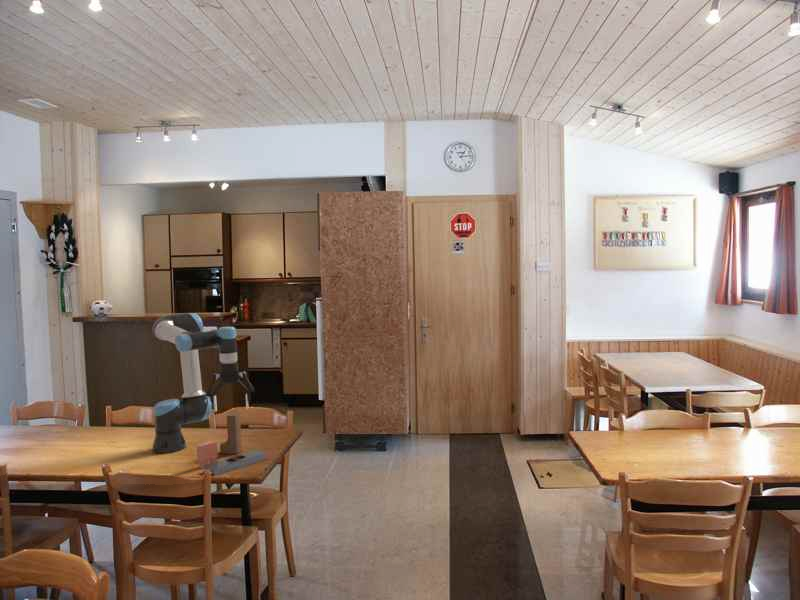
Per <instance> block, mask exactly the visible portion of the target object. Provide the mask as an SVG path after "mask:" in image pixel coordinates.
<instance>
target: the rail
mask: <svg viewBox="0 0 800 600" xmlns="http://www.w3.org/2000/svg"><path fill="white" fill-rule="evenodd" d="M267 457H268V456H267V452H266V451H262V450H259V449H254V450H251V451H247V452H244V453H239V454H238V455H237V454H235V455H233V456H230V457H227V458H223V459H219V460H216V462H212V463H210V462H209V463H206V465H204V468H203V469H204V471H205V470H210V471H211V472H212V476H214V475H215V476H217V474H218V475H221V474H224V473H223V472H225V473H227V472H226V471H228V472H230V470H231V471H234V470H237V469H236V468H238V469H240V467H241V468H243V466H244V467H247V466H250V465H252V464H253V465H254V464H256V463H259V462H263V461H266V460H268V458H267ZM233 469H234V470H233Z"/></svg>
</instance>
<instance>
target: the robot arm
mask: <svg viewBox="0 0 800 600" xmlns="http://www.w3.org/2000/svg"><path fill="white" fill-rule="evenodd" d="M202 320H203V319H202V318H201V317H200V315H199V314H197V313H195V312H193V313H191V312H189V313H188V312H187V313H179V314H178V313H177V314H168V315H166V314H165V315H163V316H160V317H159V318H158V319H156V320H155V322H154V323H153V325H152V333H153V335H154V336H155V338H157V339H159V340H161V341H167V342H170V343H173V344H174V345H175V348H176V350H177V351H178V352H179V356H180V366H181V372H182V373H181V375H182V376H181V377H182V385H183V394H182V395H181V396H180V398H181V400H180V399H179V398H169V399H165V400H162V401H159V402H157V403H156V404H155V405H154V407H153V418H154V430H155V436H154V438H153V439H154V440H153V442H152V443H153V444H152V452H153V453H156V454H169V453H175V452H178V451H181V450H184V449H185V448H186V447H187V444H186V439H185V437H184V435H183V432H182V426H183V425H188V424H193V423H196V422H197V423H198V422H202V421H205V420H208V419H209V417H210V416H211V415H212V414H211V413H212V405H213V410H214V412H217V411H218V407H217V395H215V394H217V392H218V391H219V390H220V388H221V387H222V386H223V385H224V384H234V383H235V384H237V385H238V386H239V387H240V388H241V389H242V390H243V391H244V392H245V409H246V410H249V402H250V401H251V394H252V393H254V392H255V389H254V387H253V385H252V383H251V381H250V380H249V378H248V377H247V372H246V371H243V372H239V363H238V346H237V344H238V343H237V330H236V327H234V326H222V327H219V328H218V329H212V330H209V331H204V329H205V328H204V324H203V323H204V322H203V321H202ZM211 348H218V352H219V362H220V364H219V368H220V372H219V373H220V374H219V373H215V372H214V373H213V375H212V380H211V383H210V385H209V387H208V390H207V392H205V391H203V386H202V384H203V383H202V374H201V367H200V358H199V350H203V349H211ZM239 377H241V378H243V381H244V382H245V384H246V385H245V384H243V382H241V381H240V379H239ZM218 379H220V380H221V381H220V382H219V384H218V385H217V386H216V388H215V389H214V390H213V388H214V386H215V383H216V380H218ZM212 390H213V391H212Z"/></svg>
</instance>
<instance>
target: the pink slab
mask: <svg viewBox="0 0 800 600" xmlns="http://www.w3.org/2000/svg"><path fill="white" fill-rule="evenodd" d="M196 454H197V455H196V456H197V457H196V459H197V460H196V461H197V462H198V463H199V464H198V465H199V466H198V467H199V468H200V469H201V470H202V469H204V465H206V464H207V461H209V463H212V462H216V461H217V458H218V442H217V441H215V440H211V441H208V442H207V441H206V442H203V443H199V444H196Z"/></svg>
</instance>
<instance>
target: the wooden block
mask: <svg viewBox="0 0 800 600" xmlns="http://www.w3.org/2000/svg"><path fill="white" fill-rule="evenodd" d="M226 428H227V440H225V441H223V442H221V443H220V444H219V449H220V450H219V451H220V454H228V455H229V454H232V455H237V454H238V455H239V454H241V452H242V450H243V446H242V433H241V431H242V429H241V416H240V413H230V414H227V415H226Z"/></svg>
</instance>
